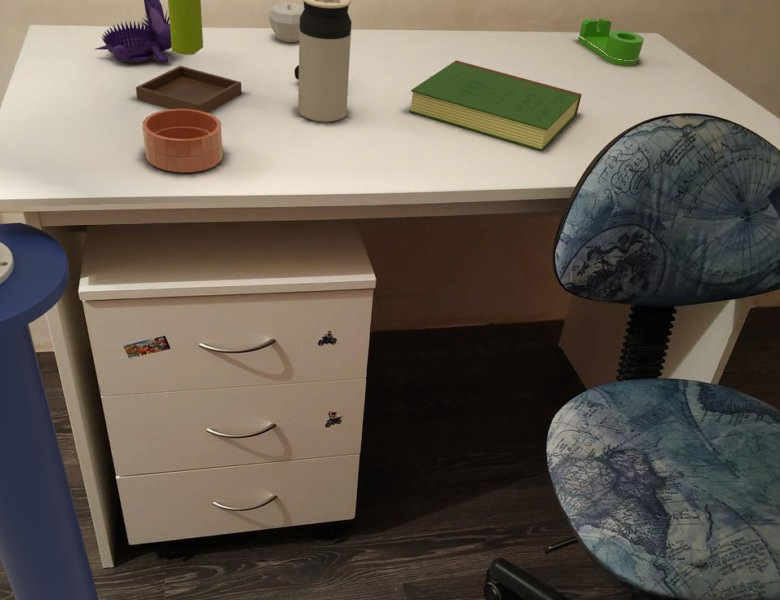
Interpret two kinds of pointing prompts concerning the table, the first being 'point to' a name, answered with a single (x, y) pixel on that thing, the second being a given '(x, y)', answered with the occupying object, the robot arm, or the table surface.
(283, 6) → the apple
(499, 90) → the hardcover book
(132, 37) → the creature
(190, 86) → the tray
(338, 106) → the travel mug
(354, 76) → the table surface
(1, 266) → the robot arm
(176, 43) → the vape
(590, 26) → the green stand
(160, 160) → the bowl
